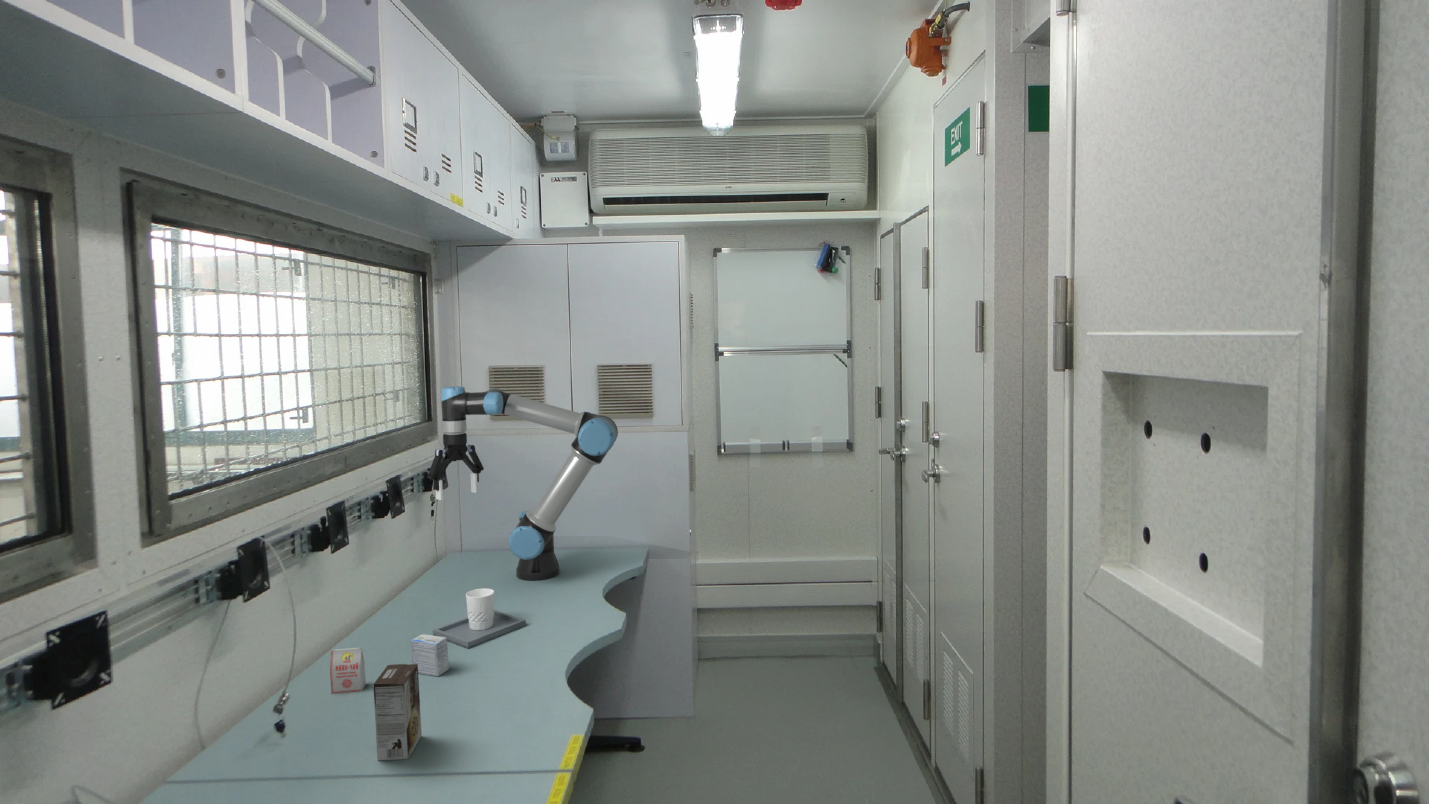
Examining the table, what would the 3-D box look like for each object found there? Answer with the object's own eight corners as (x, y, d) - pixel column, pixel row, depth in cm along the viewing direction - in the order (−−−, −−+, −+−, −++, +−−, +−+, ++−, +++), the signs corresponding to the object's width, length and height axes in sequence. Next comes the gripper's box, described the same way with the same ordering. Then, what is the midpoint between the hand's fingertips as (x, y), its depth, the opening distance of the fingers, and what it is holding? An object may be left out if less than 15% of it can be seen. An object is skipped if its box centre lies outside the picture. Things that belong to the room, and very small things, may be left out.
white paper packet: (336, 686, 184) (333, 647, 183) (365, 684, 185) (363, 644, 184) (331, 693, 180) (329, 653, 179) (361, 691, 182) (359, 650, 181)
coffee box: (391, 737, 160) (387, 664, 159) (422, 735, 161) (419, 662, 159) (375, 761, 151) (371, 683, 150) (408, 759, 152) (405, 682, 150)
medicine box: (449, 670, 193) (448, 637, 192) (437, 677, 188) (436, 643, 188) (424, 665, 195) (422, 633, 194) (411, 673, 191) (410, 640, 190)
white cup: (499, 621, 224) (498, 588, 223) (489, 631, 216) (488, 597, 215) (473, 620, 224) (472, 588, 223) (462, 631, 216) (461, 597, 215)
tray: (491, 614, 231) (490, 608, 231) (525, 625, 222) (525, 619, 221) (433, 635, 215) (432, 629, 215) (467, 648, 205) (467, 642, 205)
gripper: (479, 428, 264) (481, 488, 265) (414, 436, 244) (417, 501, 245) (492, 429, 259) (495, 490, 261) (427, 438, 239) (430, 503, 241)
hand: (457, 495), depth 253 cm, fingers open, 13 cm apart
